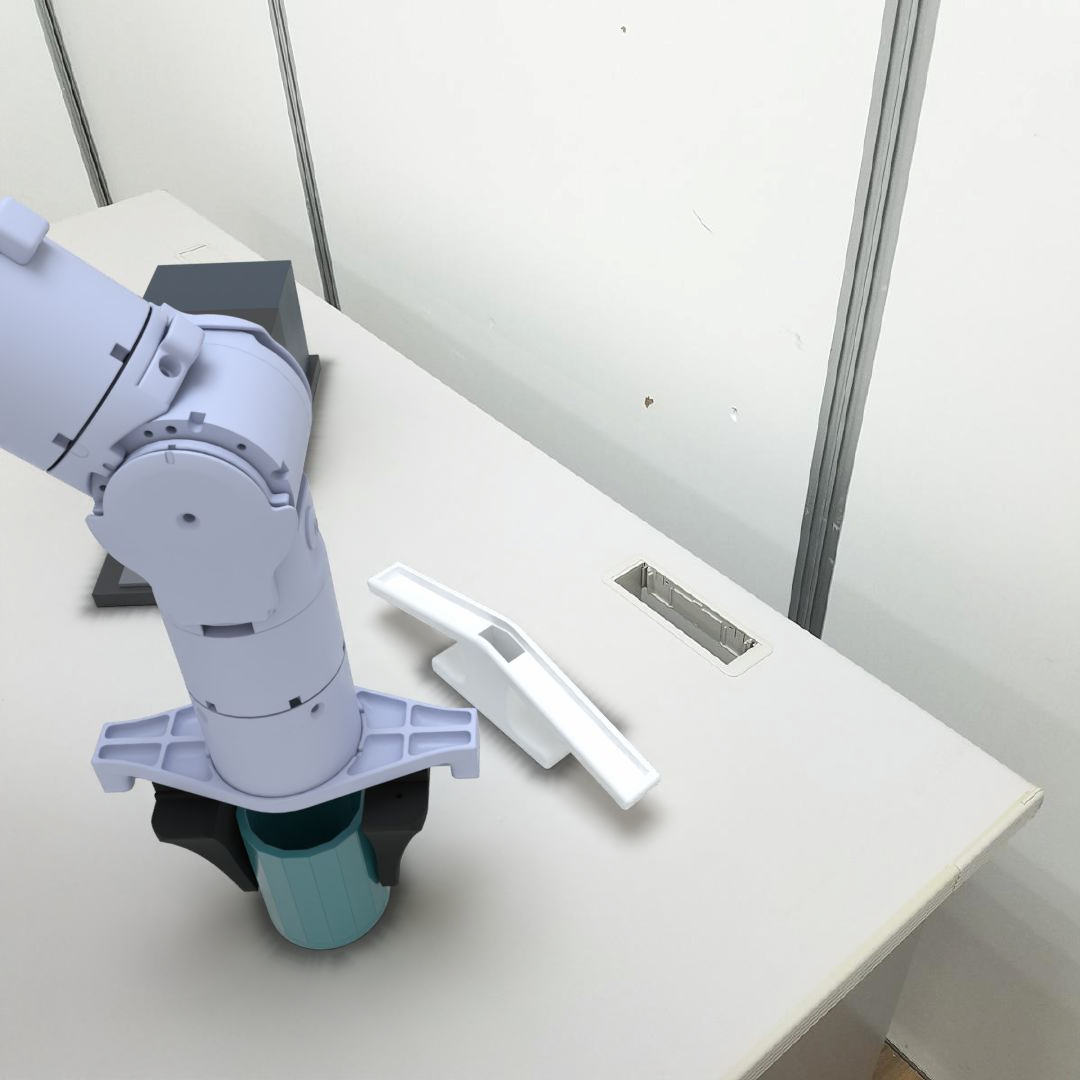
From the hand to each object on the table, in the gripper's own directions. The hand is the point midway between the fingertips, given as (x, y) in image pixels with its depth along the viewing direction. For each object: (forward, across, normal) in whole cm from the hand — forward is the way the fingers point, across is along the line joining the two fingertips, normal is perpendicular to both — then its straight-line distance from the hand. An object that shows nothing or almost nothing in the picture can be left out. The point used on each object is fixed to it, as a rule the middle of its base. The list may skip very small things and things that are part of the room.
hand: (324, 868), depth 50 cm
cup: (+2, 0, 0) cm, 2 cm away
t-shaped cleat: (+2, -8, -11) cm, 14 cm away
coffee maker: (+2, +10, -31) cm, 33 cm away
